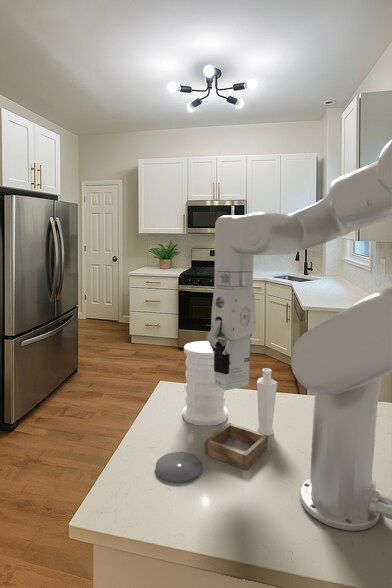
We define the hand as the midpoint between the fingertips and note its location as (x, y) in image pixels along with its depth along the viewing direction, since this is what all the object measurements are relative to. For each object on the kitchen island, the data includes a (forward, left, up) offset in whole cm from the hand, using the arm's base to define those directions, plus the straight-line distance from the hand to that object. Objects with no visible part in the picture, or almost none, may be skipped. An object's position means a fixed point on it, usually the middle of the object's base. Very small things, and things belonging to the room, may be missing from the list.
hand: (231, 366), depth 77 cm
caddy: (-1, -1, -19) cm, 19 cm away
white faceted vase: (-2, -12, -19) cm, 23 cm away
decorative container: (+14, -11, -19) cm, 26 cm away
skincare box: (0, 0, -4) cm, 4 cm away
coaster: (+5, +11, -19) cm, 22 cm away
